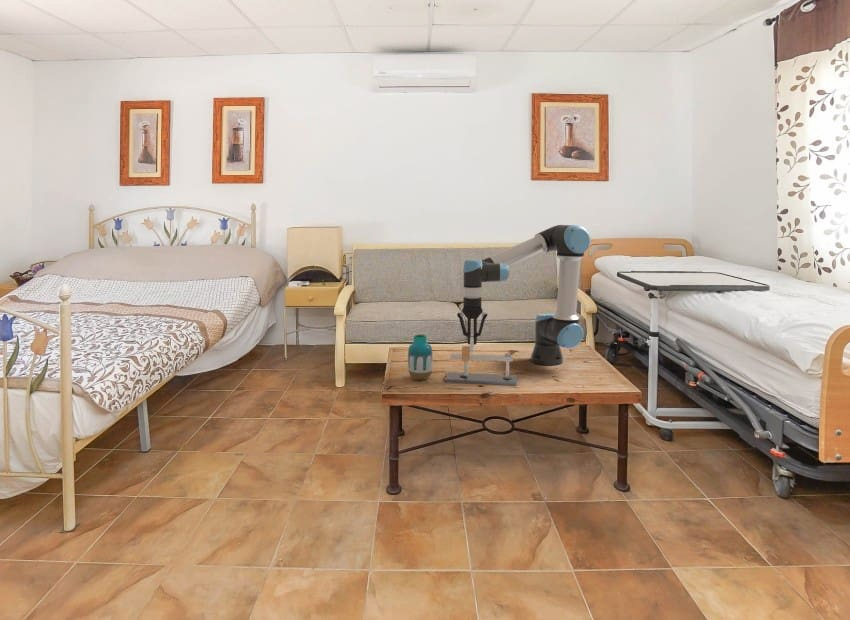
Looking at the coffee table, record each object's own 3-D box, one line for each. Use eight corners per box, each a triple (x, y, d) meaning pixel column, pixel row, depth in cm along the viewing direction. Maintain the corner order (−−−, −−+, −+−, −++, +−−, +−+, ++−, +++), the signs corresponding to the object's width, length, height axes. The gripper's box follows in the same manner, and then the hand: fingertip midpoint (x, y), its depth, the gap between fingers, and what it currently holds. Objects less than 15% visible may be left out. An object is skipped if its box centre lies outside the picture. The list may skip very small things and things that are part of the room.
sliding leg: (469, 374, 228) (469, 346, 226) (468, 376, 224) (469, 348, 222) (462, 373, 228) (462, 345, 226) (461, 376, 225) (461, 347, 222)
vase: (407, 375, 232) (407, 333, 229) (431, 374, 233) (431, 332, 230) (408, 383, 222) (408, 338, 218) (433, 382, 223) (433, 338, 219)
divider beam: (512, 377, 224) (512, 353, 222) (512, 379, 222) (512, 355, 220) (451, 374, 229) (451, 351, 227) (450, 376, 226) (450, 352, 224)
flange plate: (516, 378, 228) (517, 375, 228) (516, 385, 218) (516, 382, 218) (448, 374, 233) (448, 371, 233) (444, 381, 223) (444, 378, 223)
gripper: (488, 295, 222) (487, 350, 226) (457, 295, 225) (457, 348, 229) (487, 298, 215) (486, 354, 219) (455, 298, 217) (455, 353, 222)
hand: (472, 351), depth 224 cm, fingers closed
